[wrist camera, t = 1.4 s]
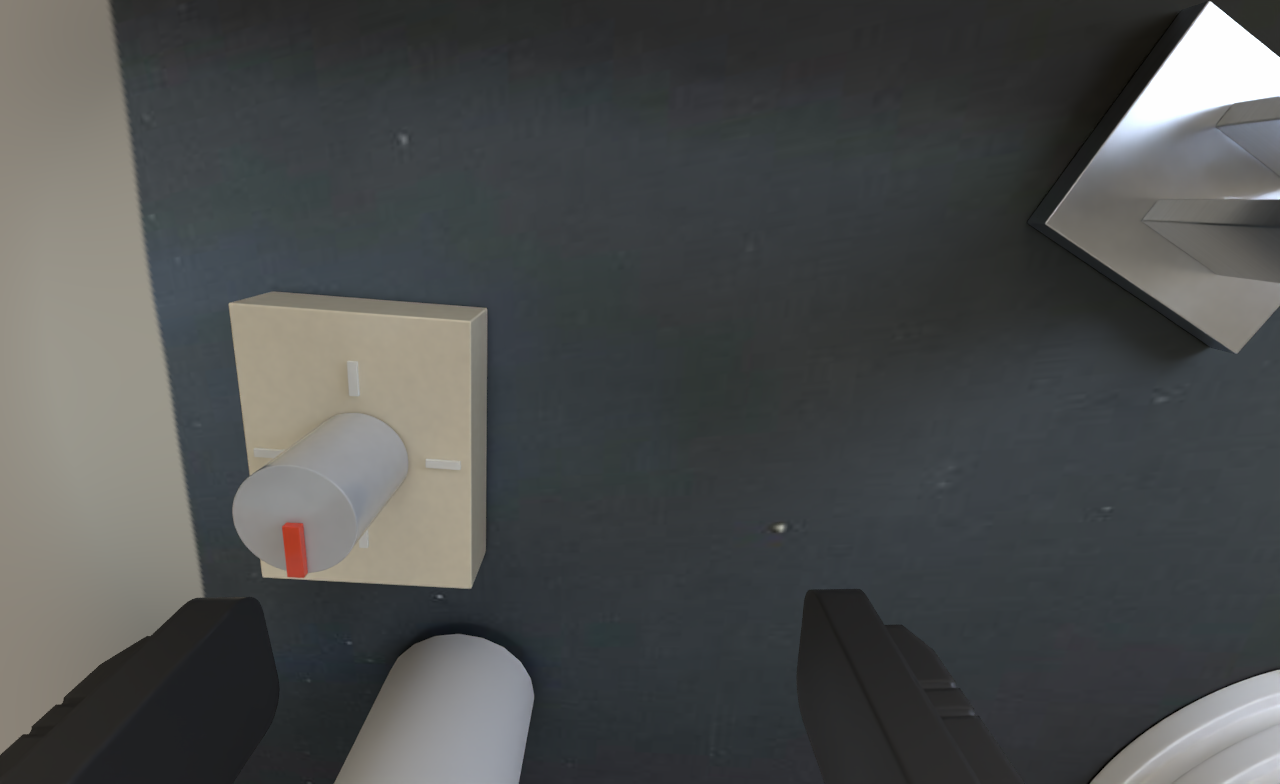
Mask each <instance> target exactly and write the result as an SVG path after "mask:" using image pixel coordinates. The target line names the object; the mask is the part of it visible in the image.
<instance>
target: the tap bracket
mask: <svg viewBox="0 0 1280 784" xmlns="http://www.w3.org/2000/svg"><path fill="white" fill-rule="evenodd" d="M1027 223H1028V224H1029V225H1031V226H1032V227H1034V228H1035V229H1037V230H1038V231H1040V232H1041V233H1043V234H1044V235H1046V236H1047V237H1049V238H1050V239H1052V240H1053V241H1054V242H1056V243H1057V244H1059V245H1060V246H1062V247H1063V248H1065V249H1066V250H1068V251H1069V252H1071V253H1072V254H1074V255H1075V256H1077V257H1078V258H1080V259H1081V260H1083V261H1084V262H1086V263H1087V264H1088V265H1090V266H1091V267H1093V268H1094V269H1096V270H1097V271H1099V272H1100V273H1102V274H1103V275H1105V276H1106V277H1108V278H1109V279H1111V280H1112V281H1114V282H1115V283H1117V284H1118V285H1120V286H1121V287H1122V288H1124V289H1125V290H1127V291H1128V292H1130V293H1131V294H1133V295H1134V296H1136V297H1137V298H1139V299H1140V300H1142V301H1143V302H1145V303H1146V304H1148V305H1149V306H1151V307H1152V308H1154V309H1155V310H1156V311H1158V312H1159V313H1161V314H1162V315H1164V316H1165V317H1167V318H1168V319H1170V320H1171V321H1173V322H1174V323H1176V324H1177V325H1179V326H1180V327H1182V328H1183V329H1185V330H1186V331H1188V332H1189V333H1190V334H1192V335H1193V336H1195V337H1196V338H1198V339H1199V340H1201V341H1202V342H1204V343H1205V344H1207V345H1208V346H1210V347H1211V348H1214V349H1218V350H1222V351H1226V352H1229V353H1233V354H1237V353H1238V352H1239V351H1240V350H1241V349H1242V348H1243V347H1244V346H1245V344H1246V343H1247V342H1248V341H1249V340H1250V339H1251V338H1252V336H1253V335H1254V334H1255V333H1256V332H1257V331H1258V330H1259V329H1260V327H1261V326H1262V325H1263V324H1264V323H1265V322H1266V321H1267V319H1268V318H1269V317H1270V316H1271V315H1272V314H1273V313H1274V312H1275V310H1276V309H1277V308H1278V307H1279V306H1280V58H1279V57H1278V56H1277V55H1276V54H1275V53H1273V52H1272V51H1271V50H1270V49H1268V48H1267V47H1266V46H1265V45H1264V44H1262V43H1261V42H1260V41H1259V40H1257V39H1256V38H1255V37H1254V36H1252V35H1251V34H1250V33H1249V32H1248V31H1246V30H1245V29H1244V28H1243V27H1241V26H1240V25H1239V24H1238V23H1237V22H1235V21H1234V20H1233V19H1232V18H1230V17H1229V16H1228V15H1227V14H1225V13H1224V12H1223V11H1222V10H1221V9H1219V8H1218V7H1217V6H1216V5H1214V4H1213V3H1212V2H1211V1H1207V2H1204V3H1201V4H1198V5H1195V6H1192V7H1189V8H1186V9H1183V10H1182V11H1181V12H1180V13H1179V14H1178V16H1177V17H1176V19H1175V20H1174V21H1173V23H1172V24H1171V25H1170V27H1169V28H1168V29H1167V31H1166V32H1165V34H1164V35H1163V36H1162V38H1161V39H1160V40H1159V42H1158V43H1157V45H1156V46H1155V47H1154V49H1153V50H1152V51H1151V53H1150V54H1149V56H1148V57H1147V58H1146V60H1145V61H1144V62H1143V64H1142V65H1141V67H1140V68H1139V69H1138V71H1137V72H1136V73H1135V75H1134V76H1133V77H1132V79H1131V80H1130V82H1129V83H1128V84H1127V86H1126V87H1125V88H1124V90H1123V91H1122V93H1121V94H1120V95H1119V97H1118V98H1117V99H1116V101H1115V102H1114V104H1113V105H1112V106H1111V108H1110V109H1109V110H1108V112H1107V113H1106V114H1105V116H1104V117H1103V119H1102V120H1101V121H1100V123H1099V124H1098V125H1097V127H1096V128H1095V130H1094V131H1093V132H1092V134H1091V135H1090V136H1089V138H1088V139H1087V141H1086V142H1085V143H1084V145H1083V146H1082V147H1081V149H1080V150H1079V152H1078V153H1077V154H1076V156H1075V157H1074V158H1073V160H1072V161H1071V162H1070V164H1069V165H1068V167H1067V168H1066V169H1065V171H1064V172H1063V173H1062V175H1061V176H1060V178H1059V179H1058V180H1057V182H1056V183H1055V184H1054V186H1053V187H1052V189H1051V190H1050V191H1049V193H1048V194H1047V195H1046V197H1045V198H1044V199H1043V201H1042V202H1041V204H1040V205H1039V206H1038V208H1037V209H1036V210H1035V212H1034V213H1033V215H1032V216H1031V217H1030V219H1029V220H1028V221H1027Z"/></svg>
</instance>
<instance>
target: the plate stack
mask: <svg viewBox="0 0 1280 784" xmlns="http://www.w3.org/2000/svg"><path fill="white" fill-rule="evenodd" d="M1090 784H1280V669H1279V670H1275V671H1272V672H1268V673H1265V674H1261V675H1258V676H1255V677H1252V678H1249V679H1246V680H1243V681H1241V682H1238V683H1235V684H1233V685H1230V686H1228V687H1225V688H1223V689H1221V690H1218V691H1216V692H1214V693H1212V694H1209V695H1207V696H1205V697H1203V698H1201V699H1199V700H1197V701H1195V702H1193V703H1191V704H1189V705H1188V706H1186V707H1184V708H1182V709H1180V710H1179V711H1177V712H1175V713H1173V714H1172V715H1170V716H1169V717H1167V718H1165V719H1164V720H1162V721H1161V722H1159V723H1158V724H1156V725H1155V726H1153V727H1152V728H1150V729H1149V730H1148V731H1146V732H1145V733H1143V734H1142V735H1141V736H1139V737H1138V738H1137V739H1136V740H1134V741H1133V742H1132V743H1130V744H1129V745H1128V746H1127V747H1126V748H1124V749H1123V750H1122V751H1121V752H1120V753H1119V754H1118V755H1117V756H1115V757H1114V758H1113V759H1112V760H1111V761H1110V762H1109V763H1108V764H1107V765H1106V766H1105V767H1104V768H1103V769H1102V770H1101V771H1100V772H1099V773H1098V775H1097V776H1096V777H1095V778H1094V779H1093V780H1092V781H1091V783H1090Z"/></svg>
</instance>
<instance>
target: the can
mask: <svg viewBox="0 0 1280 784" xmlns="http://www.w3.org/2000/svg"><path fill="white" fill-rule="evenodd" d="M533 701H534V693H533V687H532V682H531V678H530V676H529V675H528V673H527V671H526V670H525V668H524V666H523V665H522V663H521V662H520V661H519V660H518V659H517V658H516V657H515V656H513V655H512V654H511V653H510V652H509V651H507V650H506V649H505V648H504V647H502V646H500V645H497V644H495V643H493V642H491V641H489V640H486V639H484V638H481V637H475V636H469V635H463V634H452V635H441V636H434V637H431V638H429V639H426V640H424V641H421V642H419V643H416V644H414V645H413V646H411V647H410V648H409V649H408V650H407V651H405V652H404V653H403V654H402V655H400V656H399V657H398V659H397V660H396V662H395V664H394V666H393V667H392V669H391V671H390V672H389V674H388V676H387V678H386V680H385V682H384V684H383V686H382V688H381V690H380V692H379V694H378V696H377V698H376V700H375V702H374V704H373V706H372V708H371V710H370V712H369V714H368V716H367V718H366V720H365V722H364V724H363V726H362V728H361V730H360V732H359V734H358V737H357V739H356V741H355V743H354V745H353V747H352V749H351V751H350V753H349V755H348V757H347V759H346V761H345V763H344V765H343V767H342V769H341V771H340V773H339V775H338V777H337V779H336V781H335V783H334V784H519V778H520V773H521V767H522V762H523V756H524V751H525V745H526V740H527V734H528V729H529V723H530V718H531V712H532V707H533Z"/></svg>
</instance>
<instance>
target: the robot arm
mask: <svg viewBox="0 0 1280 784" xmlns="http://www.w3.org/2000/svg"><path fill="white" fill-rule="evenodd" d="M797 693H798V701H799V707H800V711H801V715H802V719H803V722H804V725H805V728H806V731H807V734H808V737H809V740H810V742H811V745H812V748H813V751H814V754H815V757H816V760H817V763H818V766H819V768H820V771H821V774H822V777H823V780H824V783H825V784H1025V783H1024V781H1023V780H1022V778H1021V777H1020V775H1019V774H1018V772H1017V771H1016V769H1015V768H1014V767H1013V765H1012V764H1011V762H1010V761H1009V759H1008V758H1007V756H1006V755H1005V753H1004V752H1003V751H1002V749H1001V748H1000V746H999V745H998V743H997V742H996V740H995V739H994V737H993V736H992V734H991V733H990V732H989V730H988V729H987V727H986V726H985V724H984V723H983V721H982V720H981V718H980V717H979V716H975V714H974V708H973V707H972V705H971V704H970V702H969V701H968V699H967V698H966V697H965V695H964V694H963V692H962V691H961V689H960V688H956V685H955V680H954V679H953V678H952V676H951V675H950V673H949V672H948V670H947V669H946V667H945V666H944V664H943V663H942V662H941V660H940V659H939V657H938V656H937V654H936V653H935V651H934V650H933V649H931V648H930V647H929V646H928V645H926V644H925V643H924V642H923V641H921V640H920V639H919V638H918V637H916V636H915V635H914V634H913V633H911V632H910V631H909V630H908V629H906V628H905V627H904V626H903V625H884V624H883V622H882V620H881V619H880V617H879V616H878V614H877V612H876V611H875V609H874V607H873V606H872V604H871V602H870V601H869V599H868V598H867V596H866V595H865V593H864V592H863V591H862V590H860V589H826V590H809V591H808V592H807V593H806V596H805V600H804V609H803V618H802V628H801V637H800V647H799V657H798V666H797ZM278 699H279V679H278V675H277V670H276V666H275V661H274V657H273V653H272V648H271V644H270V639H269V635H268V631H267V626H266V622H265V618H264V613H263V609H262V607H261V605H260V603H259V602H258V600H256V599H255V598H252V597H222V598H195V599H192V600H190V601H189V602H187V603H186V604H185V605H183V606H182V607H181V608H180V609H179V610H178V611H177V612H176V613H175V614H174V615H173V616H172V617H171V618H170V619H169V620H167V621H166V622H165V623H164V624H163V625H162V626H161V627H160V628H159V629H158V630H157V631H156V632H155V633H154V634H153V635H151V636H147V637H145V638H143V639H141V640H140V641H138V642H136V643H135V644H133V645H132V646H130V647H128V648H127V649H125V650H123V651H122V652H120V653H118V654H117V655H115V656H113V657H112V658H110V659H109V660H107V661H105V662H104V663H102V664H101V665H99V666H98V667H97V668H96V669H95V670H94V671H93V672H92V673H90V674H89V675H88V676H87V677H86V678H85V679H84V680H83V681H82V682H81V683H79V684H78V685H77V686H76V687H75V688H74V689H73V690H72V691H71V692H69V693H68V694H67V695H66V696H65V697H64V701H63V703H62V704H61V705H55V706H54V707H53V708H52V709H51V710H50V711H48V712H47V713H46V714H45V715H44V716H43V717H42V718H41V719H40V720H39V721H37V722H36V723H35V724H34V725H33V726H32V730H31V732H30V733H29V734H27V735H26V734H24V735H22V736H21V737H20V738H19V739H18V740H16V741H15V742H14V743H13V744H12V745H11V746H10V747H9V748H8V749H6V750H5V751H4V752H3V753H2V754H1V755H0V784H233V782H234V780H235V779H236V777H237V776H238V774H239V773H240V771H241V770H242V768H243V767H244V765H245V764H246V762H247V761H248V759H249V758H250V756H251V755H252V753H253V752H254V750H255V749H256V747H257V746H258V744H259V743H260V741H261V739H262V738H263V736H264V735H265V733H266V732H267V730H268V728H269V727H270V725H271V723H272V720H273V718H274V715H275V712H276V709H277V704H278Z"/></svg>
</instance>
